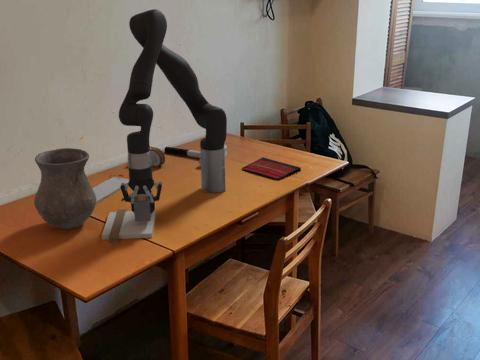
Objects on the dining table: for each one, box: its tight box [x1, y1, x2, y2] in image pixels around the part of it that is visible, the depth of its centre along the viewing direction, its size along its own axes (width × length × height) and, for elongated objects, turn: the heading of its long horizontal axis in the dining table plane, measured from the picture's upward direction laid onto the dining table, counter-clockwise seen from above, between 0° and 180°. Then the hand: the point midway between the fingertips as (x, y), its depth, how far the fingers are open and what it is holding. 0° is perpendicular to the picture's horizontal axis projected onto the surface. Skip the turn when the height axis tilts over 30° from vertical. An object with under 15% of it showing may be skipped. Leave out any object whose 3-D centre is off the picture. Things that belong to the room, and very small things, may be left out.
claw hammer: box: [164, 144, 228, 166], centre depth 253 cm, size 5×22×30 cm
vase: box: [33, 147, 97, 231], centre depth 182 cm, size 20×19×25 cm
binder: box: [241, 156, 302, 181], centre depth 235 cm, size 16×2×21 cm
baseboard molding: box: [92, 174, 129, 204], centre depth 212 cm, size 31×3×12 cm
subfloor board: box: [101, 208, 157, 243], centre depth 184 cm, size 16×22×2 cm
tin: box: [150, 146, 166, 168], centre depth 241 cm, size 15×3×8 cm, turn 58°
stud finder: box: [133, 194, 152, 221], centre depth 182 cm, size 5×8×7 cm, turn 4°
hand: (143, 211), depth 183 cm, fingers closed on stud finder, 5 cm apart
